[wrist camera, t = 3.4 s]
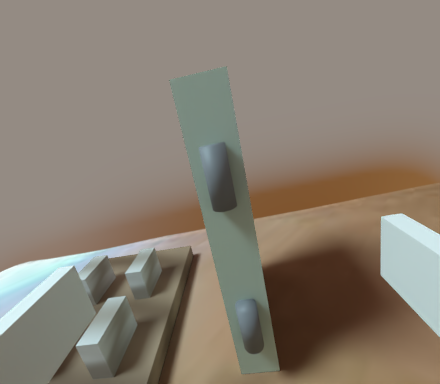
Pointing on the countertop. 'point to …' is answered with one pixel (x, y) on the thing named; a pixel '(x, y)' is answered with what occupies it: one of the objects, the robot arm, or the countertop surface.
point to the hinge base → (128, 317)
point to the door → (227, 212)
